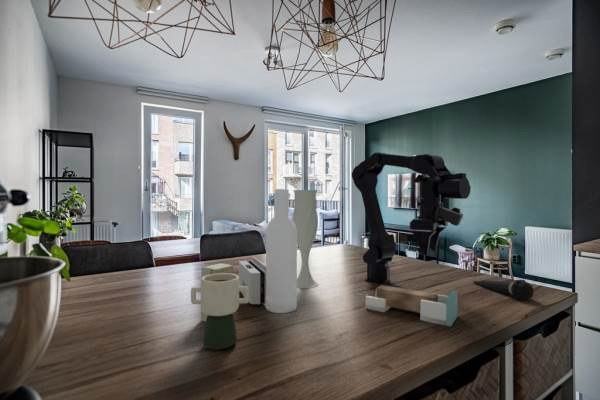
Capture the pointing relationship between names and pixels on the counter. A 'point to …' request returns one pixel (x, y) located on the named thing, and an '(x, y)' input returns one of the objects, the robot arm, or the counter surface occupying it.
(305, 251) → the vase
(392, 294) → the rail
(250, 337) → the counter surface
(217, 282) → the character mug
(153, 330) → the counter surface
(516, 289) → the microphone
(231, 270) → the skincare box
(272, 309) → the bottle
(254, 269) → the bracket
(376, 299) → the rail brackets
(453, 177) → the robot arm
